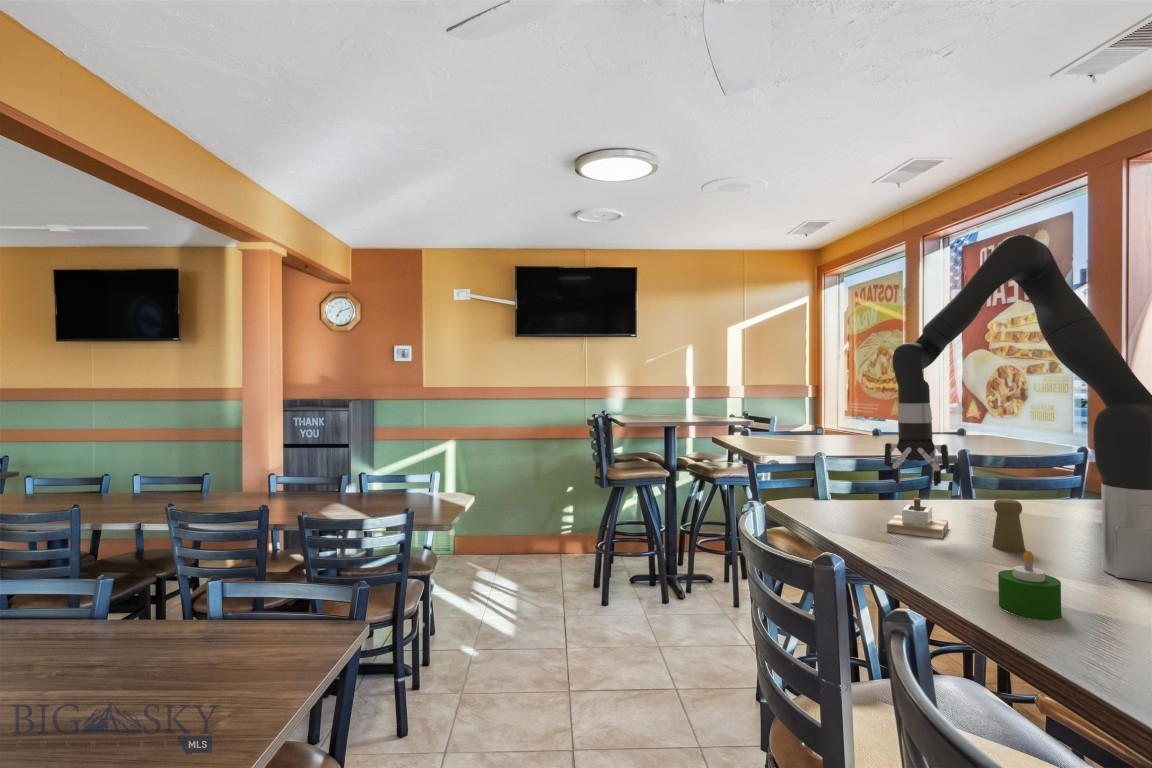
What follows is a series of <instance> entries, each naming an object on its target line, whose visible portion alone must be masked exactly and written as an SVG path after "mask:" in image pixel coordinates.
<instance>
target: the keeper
mask: <svg viewBox="0 0 1152 768" xmlns="http://www.w3.org/2000/svg"><path fill="white" fill-rule="evenodd" d="M913 505H914V510H915V511H920V506H921V498H919V497H913ZM948 528H949V520H947V519H946V520H945V519H938V518H932V521H931V523H930V524H929V526H928V527H926V526H918V525H909V524H902V515H900V514H895V515H894V516H893V517H892V518H891V519H890V520H889V521H888V522H887V523H886V532H889V533H896V534H904V535H911V536H912V535H913V536H919V537H920V536H921V537H929V538H936V539H943V537H944V536H945V534H946V532H947V531H948Z"/></svg>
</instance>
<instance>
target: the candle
mask: <svg viewBox="0 0 1152 768" xmlns="http://www.w3.org/2000/svg"><path fill="white" fill-rule="evenodd" d="M1034 559H1035V558H1034V555H1033V553H1032V551H1030V550H1025V552H1024V553H1023V556H1022V560H1023V562H1024V565H1016V566H1015V565H1014V566H1013V567H1012V569H1004V570H1001V571H999V572H998V574H997V575H998V576H997V579H998V580H997V582H998V583H997V584H998V607H999V606H1000V607H1001V608H1002V609H1004V610H1006V611H1008V612H1010V613H1013V614H1015V615H1014V616H1016V615H1018V616H1017V617H1020V616H1021V617H1020V618H1025V619H1029V618H1030V619H1029V620H1035V619H1037V621H1057V620H1056V619H1058V620H1060V619H1061V618H1062V584H1061V583H1062V582H1061V580H1059V579H1058V578H1056V577H1054V576H1051V575H1048V574H1046V572H1045V570H1043V569H1040V568H1038V567H1034V566H1033V565H1034V564H1033V562H1034ZM1000 607H999V608H1000ZM1001 608H1000V609H1001ZM1002 609H1001V610H1002ZM1004 610H1003V611H1004ZM1006 611H1005V612H1006ZM1008 612H1007V613H1008ZM1010 613H1009V614H1010ZM1013 614H1012V615H1013ZM1059 618H1060V619H1059Z"/></svg>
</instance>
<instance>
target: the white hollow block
mask: <svg viewBox="0 0 1152 768" xmlns="http://www.w3.org/2000/svg"><path fill="white" fill-rule="evenodd" d="M901 514H902V524H909V525H918V526H926V527H928V526H929V524H930V523H931V521H932V519H933V506H929V505H926V506H925V505H920V511H915V510H914V504H906V505H905V506H904V507H903V509H901Z"/></svg>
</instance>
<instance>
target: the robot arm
mask: <svg viewBox="0 0 1152 768" xmlns="http://www.w3.org/2000/svg"><path fill="white" fill-rule="evenodd" d="M1009 280H1013V281H1014V282H1015V283H1016V284H1017V285H1018V286H1019V288H1020V289H1022V291H1023V292H1024V294H1025V295H1026V296H1027V297H1028V299H1029V301H1030V302H1031V304H1032V306H1033V309H1034V312H1035V315H1036V320H1037V324H1038V326H1039V330H1040V332H1041V335H1042V336H1043V338H1044V341H1046V343H1047V345H1048V347H1049V348H1050V350H1051V351H1052V352H1053V354H1054V355H1055V357H1056V358H1057V360H1059V362H1060V363H1061V364H1062V365H1063V366H1065V368H1067V369H1068V370H1069V371H1070V372H1072V373H1073V374H1074V375H1075V376H1076V377H1078V378H1079V379H1080V380H1082V381H1083V382H1084V383H1085V384H1086V385H1088V386H1089V387H1090V388H1091V389H1092V390H1093V391H1094V392H1095V393H1096V394H1097V395H1098V397H1099V398H1100V400H1101V401H1102V402H1103V404H1104V405H1105V407H1104V408H1103V409H1101V410H1100V411H1099V412H1098V413H1097V414H1096V416H1095V419H1094V423H1093V432H1092V433H1093V435H1092V436H1093V449H1094V451H1093V452H1094V460H1095V461H1094V462H1095V466H1096V469H1097V471H1098V474H1099V475H1100V482H1101V484H1100V485H1101V539H1102V540H1101V542H1102V543H1101V544H1102V545H1101V546H1102V547H1101V548H1102V550H1101V551H1102V571H1104V572H1106V573H1107V574H1110V575H1113V576H1114V577H1116V578H1119V579H1128V580H1134V581H1135V580H1136V581H1142V582H1148V583H1152V393H1151V392H1150V391H1149V390H1148V389H1147V387H1145V385H1144V384H1143V383H1142V382H1141V380H1139V379H1138V377H1137V376H1136V375H1135V373H1134V372H1133V370H1132V369H1131V367H1130V366H1129V364H1128V363H1127V361H1126V360H1125V358H1124V357H1123V355H1122V354H1121V353H1120V351H1119V350H1118V348H1117V347H1116V345H1115V344H1114V343H1113V341H1112V339H1111V338H1110V337H1109V335H1108V333H1107V332H1106V330H1105V329H1104V327H1103V326H1102V325H1101V323H1100V322H1099V321H1098V319H1097V318H1096V316H1095V315H1094V314H1093V313H1092V312H1091V310H1090V309H1089V307H1088V306H1087V305H1086V304H1085V302H1083V300H1082V299H1081V298H1080V296H1079V295H1077V293H1076V292H1075V291H1074V289H1072V287H1071V286H1070V284H1068V282H1067V280H1066V279H1065V277H1064V275H1063V273H1062V271H1061V269H1060V267H1059V265H1058V264H1057V261H1056V259H1055V258H1054V255H1053V253H1052V252H1051V250H1050V249H1049V247H1048V246H1047V245H1046V244H1045V243H1043V242H1042V241H1040V240H1038V239H1036V238H1034V237H1032V236H1030V235H1026V234H1014V235H1010V236H1008V237H1006V238H1004V239H1003V240H1002V241H1000V242H999V243H998V244H997V245H996V246H995V248H993V250H992V251H991V252H990V253H989V255H988V256H987V257H986V258H985V260H984V261H983V262H982V264H981V265H980V267H979V268H978V269H977V270H976V271H975V273H974V274H973V275H972V276H971V277H970V278H969V280H968V281H967V282H966V283H965V285H964V286H963V287H962V288H961V289H960V291H959V292H958V293H957V294H956V295H955V296H954V297H953V298H952V299H951V300H950V301H949V302H948V303H947V304H946V305H945V306H944V307H943V308H942V309H941V310H940V311H939V312H937V313H936V314H935V315H934V316H933V317H932V318H931V319H930V320H929V321H928V322H926V324H925V325H924V326H923V328H922V333H921V335H920V336H918V338H917V339H916V340H915V341H914V342H904V343H902V344H899V345H898V346H897V347H896V348H895V349H894V351H893V354H892V368H893V373H894V376H895V381H896V383H897V386H898V387H897V388H898V391H897V392H898V394H897V395H898V400H897V401H898V407H897V425H898V427H897V430H898V441H897V443H891V442H890V441H889V442H886V443H885V444H884V463H883V464H884V466H887V467H889V468H891V469H892V480H893V481H894V482H895V483H896V484H900V483H901V469H900V466H901V465H902V464H903V462H904V461H905V460H908V461H909V462H912V461H919V462H923V461H926V462H927V463H928V464H929V465H930V466H931V467H932V468H933V469H934V470H933V486H934V487H938V486H939V485H940V484H941V483H942V470H947V469H949V468H950V458H949V457H950V456H949V448H948V445H947V444H945V443H943V444H934V441H933V422H932V421H933V414H932V408H931V403H930V402H931V397H930V394H931V393H930V391H931V389H930V385H929V382H928V381H926V380H925V377H924V371H923V370H924V369H926V368H928V367H929V366H930V365H932V364H933V363H934V362H935V361H936V360H937V358H938V357H939V356H940V355H941V354H942V352H943V351H944V350H945V349H946V347H947V346H948V345H949V344H950V343H952V341H954V340H955V339H956V338H957V337H959V336H960V335H961V334H962V333H963V332H964V331H965V330H966V329H967V328H968V327H969V326H970V325H971V324H972V323H973V322H974V320H975V319H976V318H977V316H978V314H979V313H980V312H981V310H982V308H983V307H984V305H985V304H986V302H987V301H988V300H989V298H990V297H991V296H992V295H993V294H994V292H996V291H997V290H998V289H1000V288H1001V286H1003V285H1005V284H1006V282H1008V281H1009ZM895 449H897V450H898V451H899V452H900V455H899V457H898V458H897V459H896V460H895V462H893V461H892V452H894V451H895ZM935 450H936V451H937V453H938V454H941V463H942V464H940V463H939V462H938V461H937V460H936V459H935V458H934V456H933V455H932V453H933V452H934V451H935Z"/></svg>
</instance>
